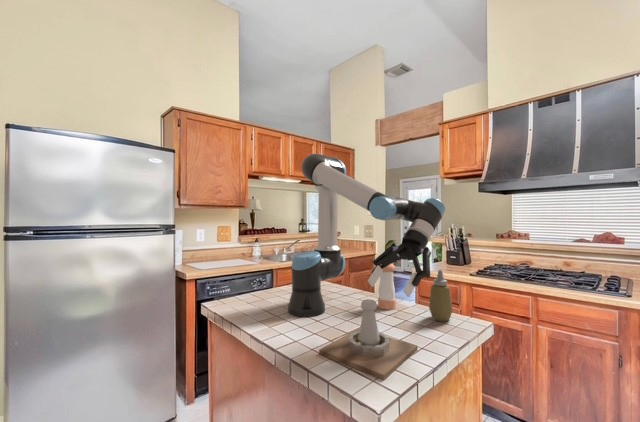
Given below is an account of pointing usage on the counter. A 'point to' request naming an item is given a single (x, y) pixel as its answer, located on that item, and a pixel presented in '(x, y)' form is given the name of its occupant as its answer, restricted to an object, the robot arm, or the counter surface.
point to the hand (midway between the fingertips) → (387, 288)
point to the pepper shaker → (387, 289)
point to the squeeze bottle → (440, 299)
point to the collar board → (370, 362)
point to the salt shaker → (369, 324)
